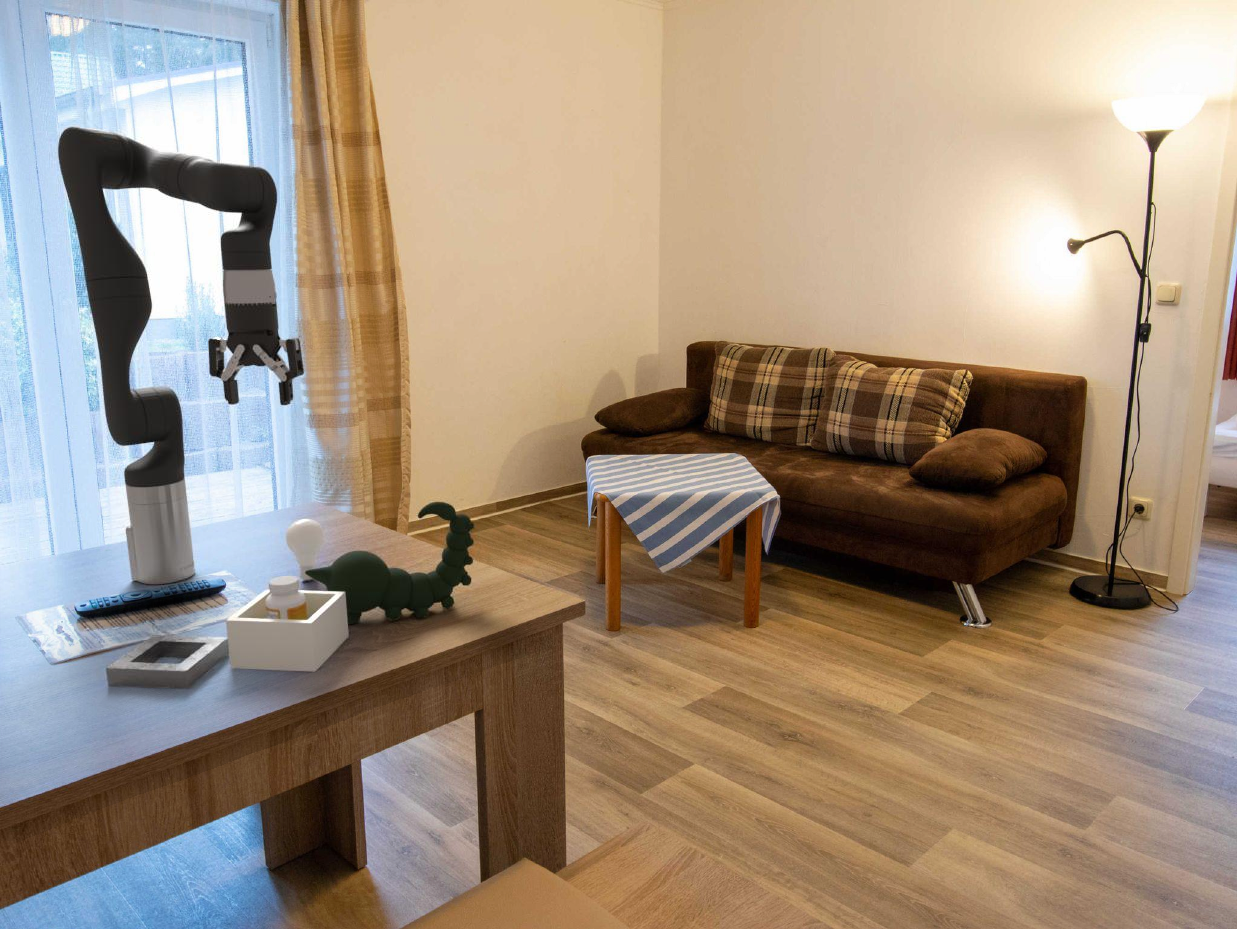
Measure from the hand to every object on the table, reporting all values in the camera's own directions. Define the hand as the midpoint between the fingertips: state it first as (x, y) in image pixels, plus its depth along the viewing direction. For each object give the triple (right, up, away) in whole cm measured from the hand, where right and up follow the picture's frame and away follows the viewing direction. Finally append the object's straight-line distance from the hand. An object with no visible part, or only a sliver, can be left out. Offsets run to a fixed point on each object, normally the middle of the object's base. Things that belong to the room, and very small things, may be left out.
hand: (259, 404), depth 149 cm
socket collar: (-5, -37, -20) cm, 43 cm away
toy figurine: (+22, -33, -1) cm, 40 cm away
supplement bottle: (+10, -35, -15) cm, 39 cm away
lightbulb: (+3, -30, +15) cm, 33 cm away
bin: (+10, -36, -14) cm, 40 cm away
